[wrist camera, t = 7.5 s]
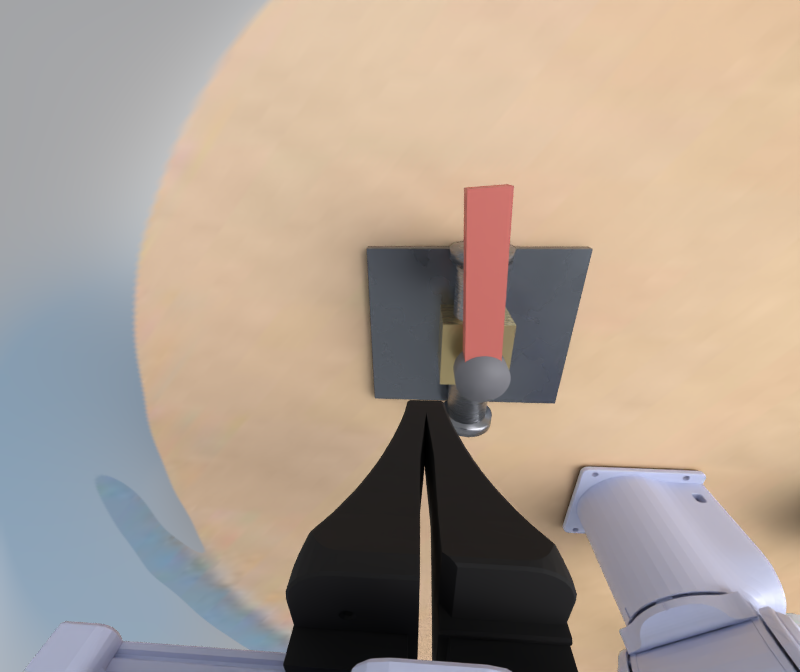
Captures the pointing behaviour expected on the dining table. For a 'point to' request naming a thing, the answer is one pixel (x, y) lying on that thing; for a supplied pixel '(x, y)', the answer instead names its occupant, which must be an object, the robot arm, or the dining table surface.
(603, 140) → the dining table surface
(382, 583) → the robot arm
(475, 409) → the valve assembly
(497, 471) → the dining table surface
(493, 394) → the valve lever
